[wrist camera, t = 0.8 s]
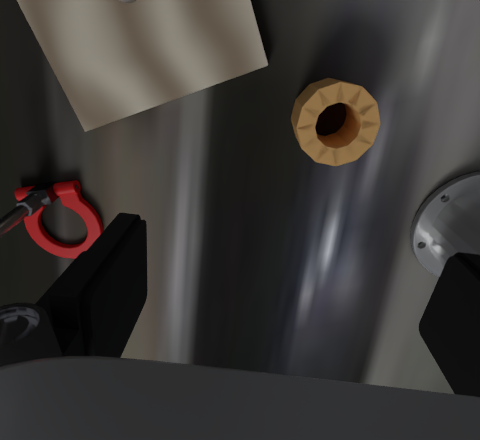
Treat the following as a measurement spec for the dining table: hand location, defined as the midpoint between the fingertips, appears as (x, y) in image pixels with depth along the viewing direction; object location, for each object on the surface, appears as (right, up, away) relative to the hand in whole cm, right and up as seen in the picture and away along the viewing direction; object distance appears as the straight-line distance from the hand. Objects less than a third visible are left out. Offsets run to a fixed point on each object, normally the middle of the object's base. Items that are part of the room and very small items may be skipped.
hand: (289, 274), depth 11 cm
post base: (-10, +21, +18) cm, 29 cm away
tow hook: (-21, +2, +28) cm, 35 cm away
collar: (+7, +11, +22) cm, 25 cm away
